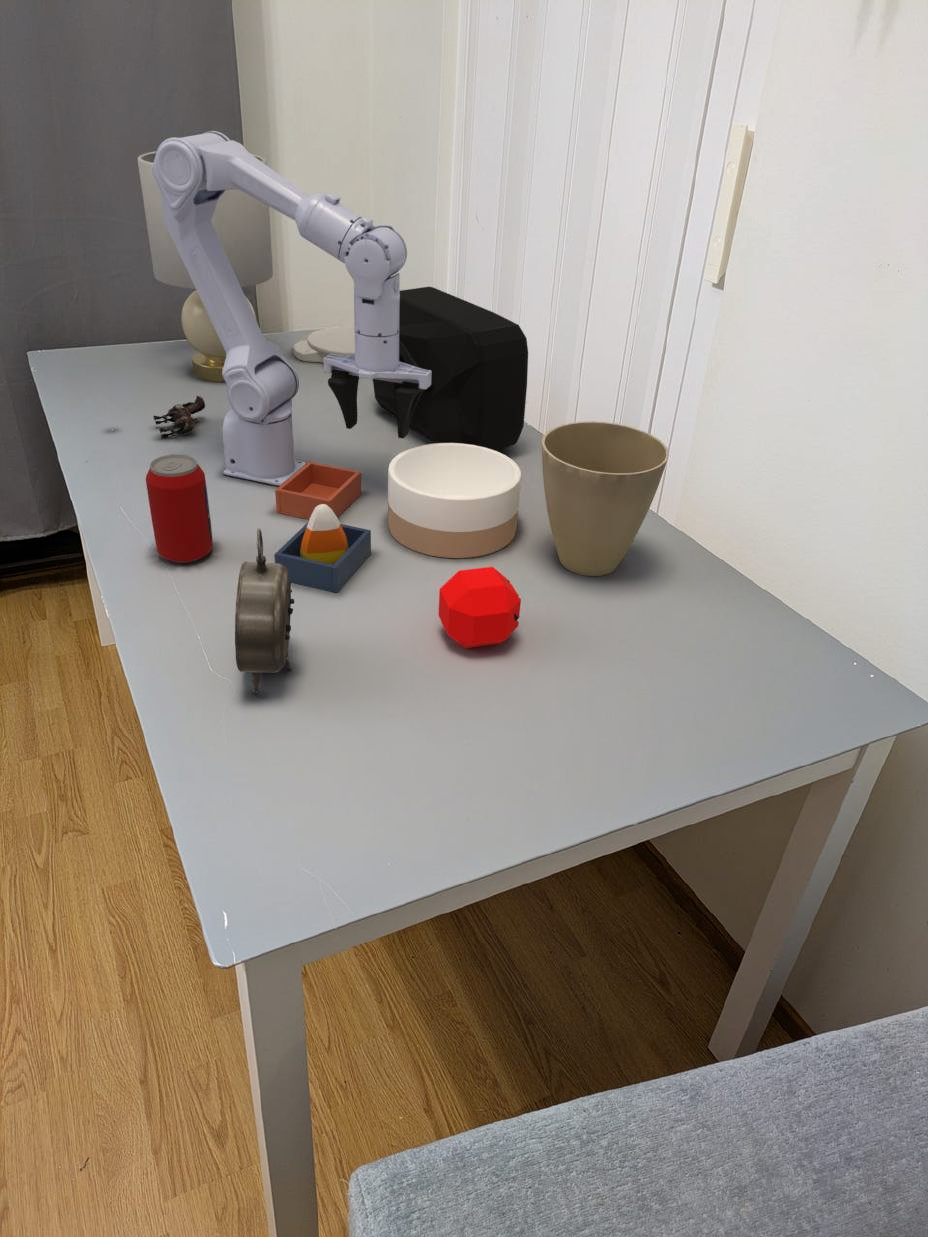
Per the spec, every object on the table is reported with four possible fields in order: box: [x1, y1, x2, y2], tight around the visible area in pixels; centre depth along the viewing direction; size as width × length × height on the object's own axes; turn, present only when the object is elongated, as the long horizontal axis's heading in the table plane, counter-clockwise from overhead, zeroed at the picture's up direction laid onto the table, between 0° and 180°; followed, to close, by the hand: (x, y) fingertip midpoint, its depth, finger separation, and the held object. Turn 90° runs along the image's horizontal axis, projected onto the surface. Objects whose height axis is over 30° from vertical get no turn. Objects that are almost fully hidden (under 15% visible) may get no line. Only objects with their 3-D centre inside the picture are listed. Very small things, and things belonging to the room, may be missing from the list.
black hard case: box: [372, 286, 529, 451], centre depth 144 cm, size 30×12×20 cm, turn 37°
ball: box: [438, 566, 522, 649], centre depth 99 cm, size 8×8×8 cm
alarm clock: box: [234, 527, 296, 696], centre depth 90 cm, size 11×5×16 cm, turn 5°
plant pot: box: [541, 420, 670, 577], centre depth 112 cm, size 15×15×16 cm
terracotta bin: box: [274, 461, 362, 521], centre depth 125 cm, size 8×10×3 cm
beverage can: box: [145, 453, 214, 564], centre depth 110 cm, size 7×7×12 cm
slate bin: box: [274, 522, 372, 593], centre depth 111 cm, size 8×10×3 cm
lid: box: [292, 325, 355, 364], centre depth 178 cm, size 17×20×3 cm
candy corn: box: [300, 504, 349, 565], centre depth 110 cm, size 6×3×8 cm, turn 107°
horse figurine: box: [111, 395, 206, 439], centre depth 143 cm, size 9×4×15 cm
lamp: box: [137, 150, 274, 383], centre depth 157 cm, size 20×20×35 cm
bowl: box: [387, 443, 522, 559], centre depth 120 cm, size 17×17×8 cm
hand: (377, 430), depth 124 cm, fingers open, 7 cm apart
